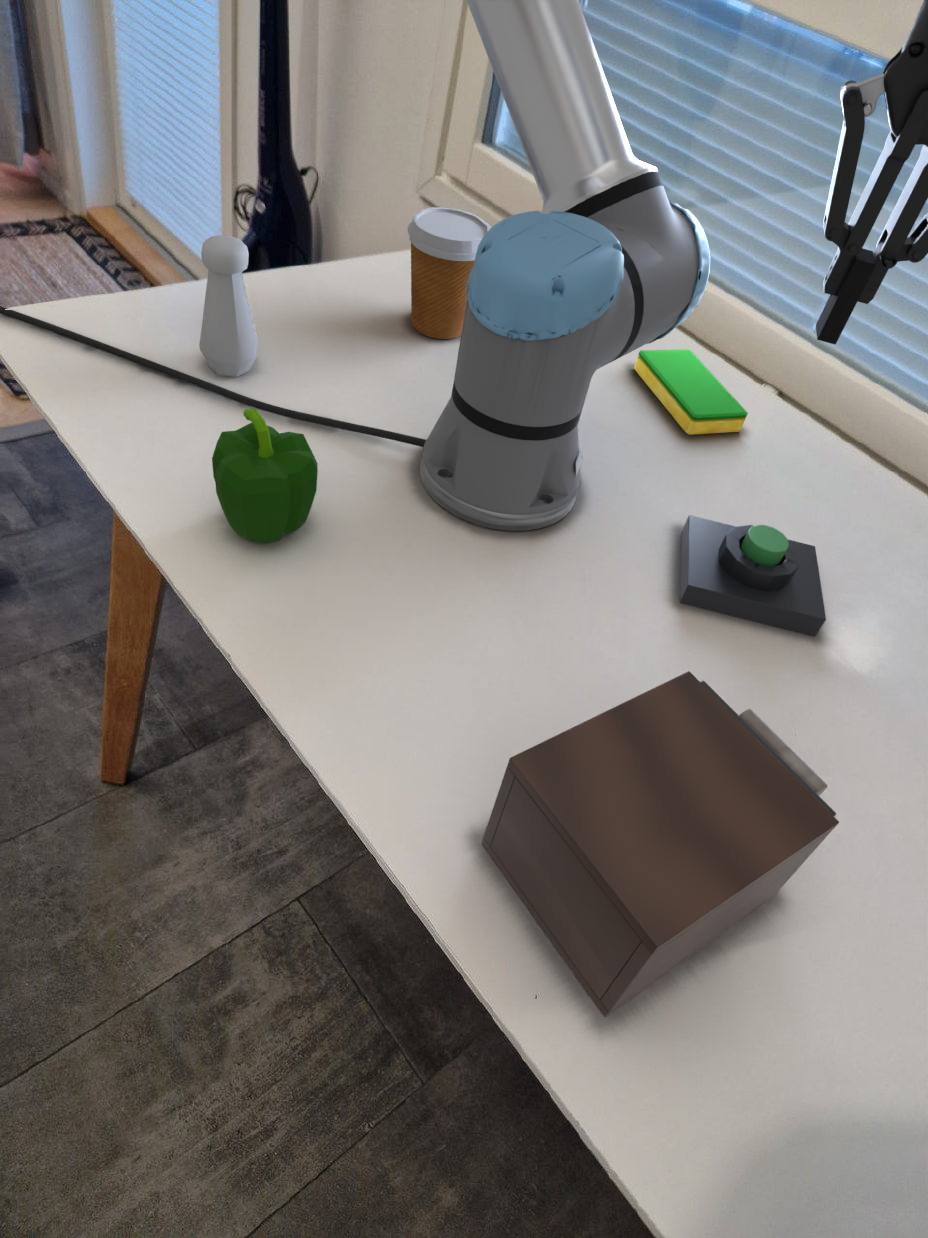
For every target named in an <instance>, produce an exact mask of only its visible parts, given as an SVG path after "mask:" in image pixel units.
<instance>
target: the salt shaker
mask: <svg viewBox="0 0 928 1238" xmlns="http://www.w3.org/2000/svg"><path fill="white" fill-rule="evenodd" d="M200 254H201V255H200V257H201V262H202V265H203V266H204V267H205V268H206V269H207V270H208V272H207V279H206V288H205V295H204V303H203V312H202V319H201V328H200V336H199V337H200V338H199V345H198V346H199V350H200V352H201V355H202V356H203V359H204V361H205V362H206V364H207V367H208V368H209V369H210V370H212V371H213V372H214V373H216V374H217V375H218V376H222V377H235V378H237V377H238V378H239V377H241V376H242V375H244V374H246V373H248V372H250V371H251V369H252V367H253V365H254V363H255V360H256V359H257V357H258V352H259V342H258V341H259V340H258V336H257V332H256V328H255V322H254V320H253V314H252V310H251V306H250V302H249V298H248V293H247V288H246V284H245V280H244V274H243V272H244V271H246V270H247V269H248V267H249V257H250V253H249V248H248V246H247V245H246V244H245V243H244V242H243V241H242V240H241V239H239V238H237V237H234V236H230V235H227V234H226V235H224V234H223V235H221V234H220V235H219V234H217V235H213V236H210V237H208V238H206V239H205V240H204V241H203V242H202V245H201V251H200Z"/></svg>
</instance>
